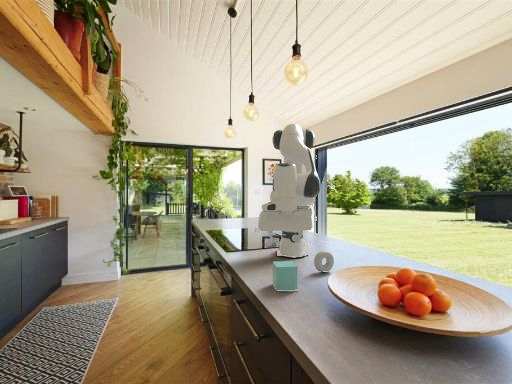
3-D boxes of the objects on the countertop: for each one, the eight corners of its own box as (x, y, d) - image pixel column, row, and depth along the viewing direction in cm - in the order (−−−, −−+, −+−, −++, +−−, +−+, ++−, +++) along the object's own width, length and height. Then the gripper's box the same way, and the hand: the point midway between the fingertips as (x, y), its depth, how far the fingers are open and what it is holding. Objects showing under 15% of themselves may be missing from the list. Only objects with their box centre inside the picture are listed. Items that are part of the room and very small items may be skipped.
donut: (330, 270, 120) (330, 248, 120) (335, 272, 117) (335, 250, 117) (312, 272, 116) (312, 250, 116) (316, 274, 113) (316, 252, 113)
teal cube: (272, 284, 101) (272, 261, 101) (291, 283, 102) (291, 261, 102) (276, 291, 93) (276, 267, 94) (297, 290, 94) (297, 266, 94)
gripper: (309, 205, 102) (309, 240, 101) (257, 205, 99) (257, 241, 99) (314, 205, 95) (314, 243, 95) (259, 206, 93) (259, 244, 93)
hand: (285, 242), depth 97 cm, fingers open, 8 cm apart
